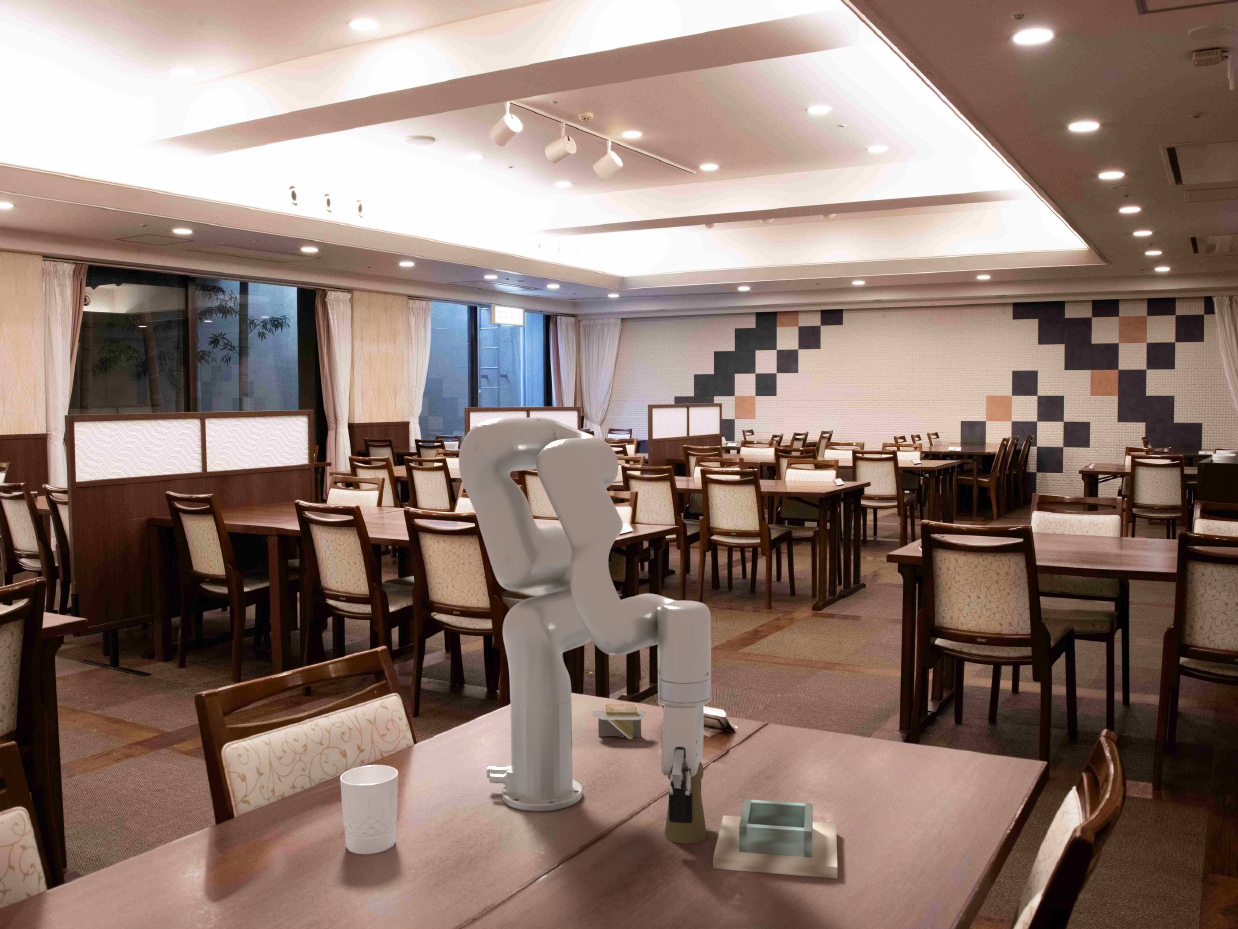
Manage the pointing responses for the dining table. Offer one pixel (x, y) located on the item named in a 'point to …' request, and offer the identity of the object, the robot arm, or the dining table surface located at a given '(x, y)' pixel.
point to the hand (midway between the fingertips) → (685, 808)
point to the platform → (620, 721)
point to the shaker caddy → (777, 841)
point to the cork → (697, 827)
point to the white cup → (369, 808)
